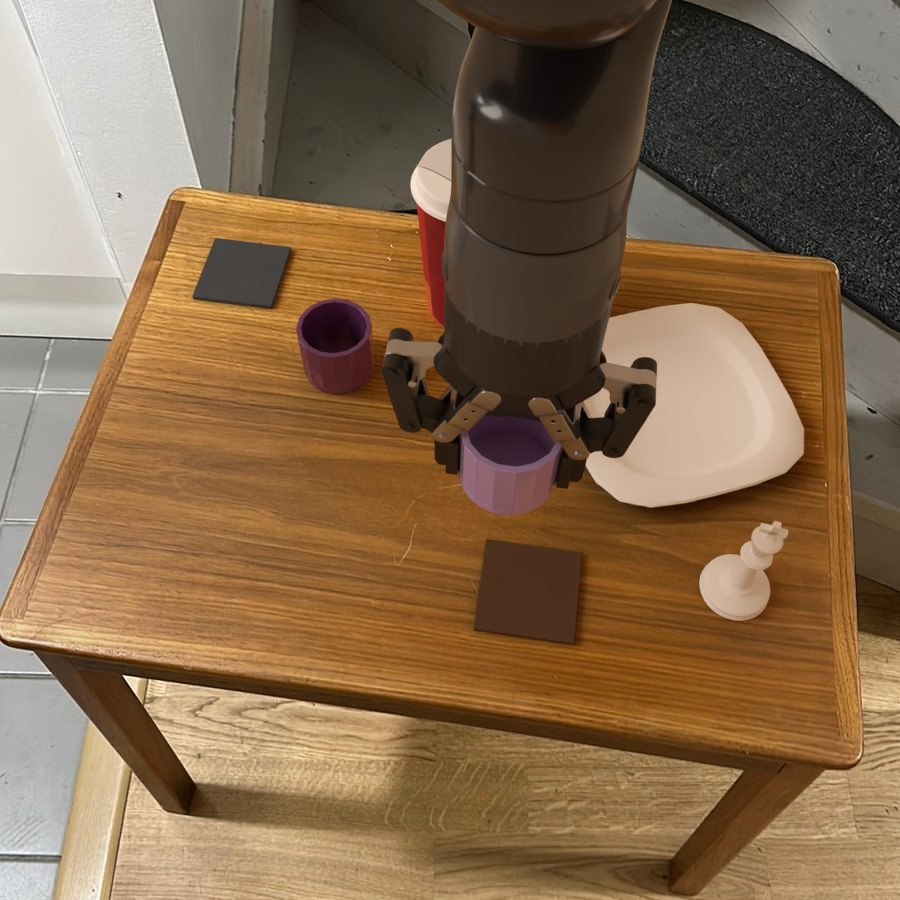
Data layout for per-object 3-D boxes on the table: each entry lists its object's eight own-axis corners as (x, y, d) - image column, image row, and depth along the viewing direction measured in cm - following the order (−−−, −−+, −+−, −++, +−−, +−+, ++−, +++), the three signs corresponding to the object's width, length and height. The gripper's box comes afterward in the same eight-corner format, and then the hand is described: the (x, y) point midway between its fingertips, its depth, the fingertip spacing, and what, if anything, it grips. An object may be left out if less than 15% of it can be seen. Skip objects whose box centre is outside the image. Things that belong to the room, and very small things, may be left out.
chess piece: (764, 629, 64) (814, 569, 56) (694, 609, 65) (732, 548, 57) (772, 567, 67) (821, 501, 58) (704, 549, 68) (743, 481, 59)
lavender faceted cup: (452, 508, 53) (452, 464, 49) (465, 426, 57) (467, 377, 52) (551, 521, 53) (561, 478, 49) (560, 437, 56) (569, 390, 52)
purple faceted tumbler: (297, 389, 75) (288, 351, 71) (313, 334, 78) (306, 294, 74) (367, 398, 74) (363, 361, 70) (380, 342, 77) (377, 303, 73)
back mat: (192, 299, 80) (191, 296, 79) (215, 240, 83) (214, 237, 83) (272, 309, 79) (271, 306, 79) (291, 250, 83) (291, 246, 82)
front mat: (473, 630, 64) (473, 628, 64) (486, 540, 68) (486, 538, 67) (573, 645, 64) (574, 643, 63) (581, 554, 67) (582, 551, 67)
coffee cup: (528, 316, 79) (546, 180, 66) (449, 358, 77) (452, 226, 64) (472, 256, 83) (479, 116, 70) (395, 294, 80) (387, 157, 67)
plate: (723, 302, 80) (728, 288, 79) (824, 475, 71) (832, 463, 70) (526, 346, 77) (528, 333, 76) (604, 532, 68) (608, 522, 67)
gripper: (698, 227, 41) (633, 430, 56) (383, 192, 43) (398, 401, 57) (697, 358, 38) (627, 541, 52) (350, 317, 39) (375, 507, 53)
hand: (507, 467), depth 54 cm, fingers closed on lavender faceted cup, 6 cm apart
